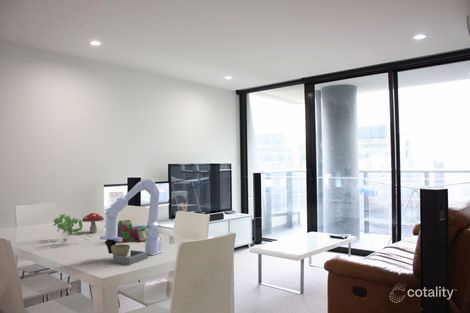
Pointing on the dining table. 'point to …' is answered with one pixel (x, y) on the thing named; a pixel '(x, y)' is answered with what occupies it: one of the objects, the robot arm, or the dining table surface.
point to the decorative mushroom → (93, 220)
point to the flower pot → (120, 250)
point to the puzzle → (131, 232)
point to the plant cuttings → (68, 225)
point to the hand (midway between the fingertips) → (110, 253)
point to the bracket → (134, 257)
